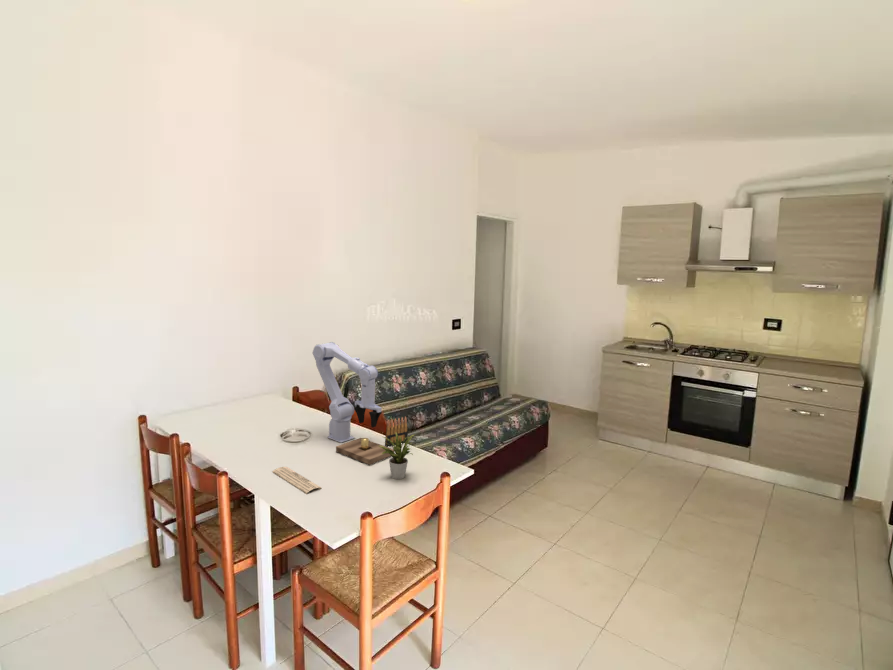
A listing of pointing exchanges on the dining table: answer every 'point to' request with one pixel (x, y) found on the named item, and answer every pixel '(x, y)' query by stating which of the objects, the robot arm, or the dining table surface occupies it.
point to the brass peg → (364, 444)
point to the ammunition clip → (396, 431)
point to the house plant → (398, 457)
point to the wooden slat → (295, 479)
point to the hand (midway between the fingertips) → (367, 424)
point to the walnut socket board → (363, 452)
